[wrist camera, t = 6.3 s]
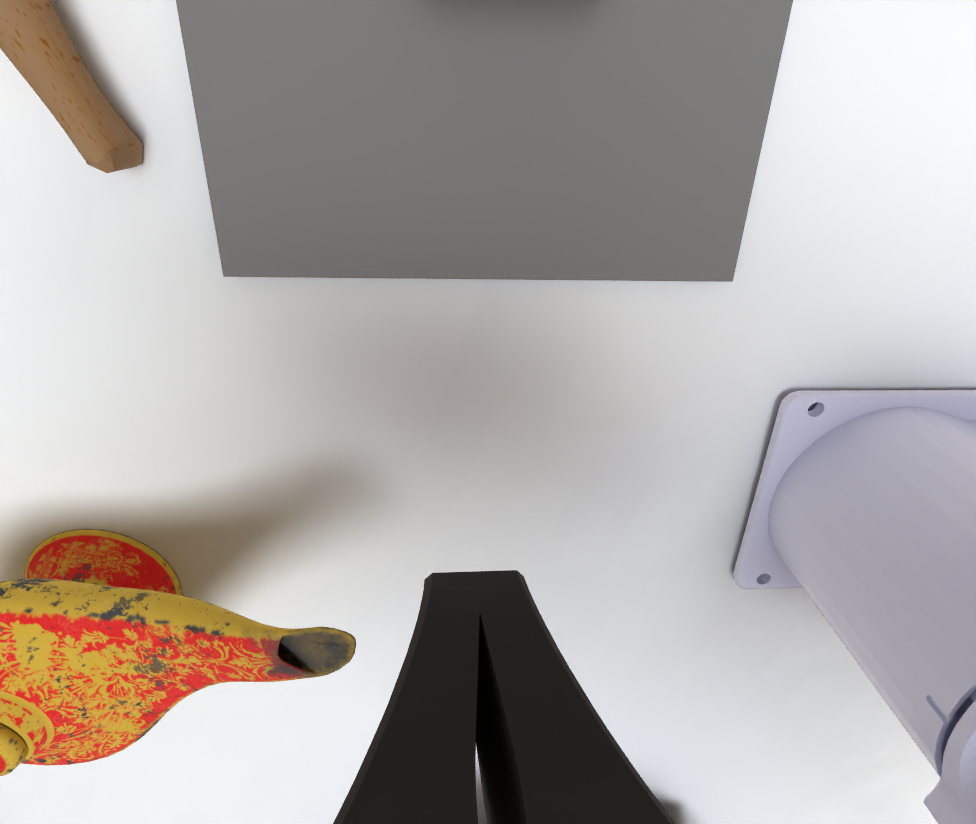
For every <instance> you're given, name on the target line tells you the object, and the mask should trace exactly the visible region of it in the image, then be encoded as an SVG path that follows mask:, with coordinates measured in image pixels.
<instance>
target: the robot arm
mask: <svg viewBox="0 0 976 824" xmlns="http://www.w3.org/2000/svg"><path fill="white" fill-rule="evenodd" d="M816 402H818V404H817V406H816V407H815V408H814V409H813V410H811V411H808V409H809V407H810V406H811V405H812V404H813V403H816ZM761 574H764V575H762V576H760V575H761ZM758 576H760V577H758ZM733 578H734V579H735V581H736V583H737V584H738V586H739V587H741V588H745V589H758V588H795V587H803V588H804V590H805V591H806V593H807V594H808V595H809V597H810V598H811V599H812V601H813V602H814V604H815V605H816V606H817V608H818V609H819V610H820V612H821V613H822V615H823V616H824V617H825V619H826V620H827V622H828V623H829V624H830V626H831V627H832V628H833V630H834V631H835V633H836V634H837V635H838V637H839V638H840V639H841V641H842V642H843V644H844V645H845V646H846V648H847V649H848V651H849V652H850V653H851V655H852V656H853V657H854V659H855V660H856V662H857V663H858V664H859V666H860V667H861V668H862V670H863V671H864V673H865V674H866V675H867V677H868V678H869V680H870V681H871V682H872V684H873V685H874V686H875V688H876V689H877V691H878V692H879V693H880V695H881V696H882V697H883V699H884V700H885V702H886V703H887V704H888V706H889V707H890V709H891V710H892V711H893V713H894V714H895V715H896V717H897V718H898V720H899V721H900V722H901V724H902V725H903V726H904V728H905V729H906V731H907V732H908V733H909V735H910V736H911V737H912V739H913V740H914V742H915V743H916V744H917V746H918V747H919V749H920V750H921V751H922V753H923V754H924V755H925V757H926V758H927V760H928V761H929V762H930V764H931V765H932V766H933V768H934V769H935V771H936V772H937V773H938V775H939V776H940V780H939V782H938V784H937V785H936V786H935V788H934V789H933V790H932V791H931V792H930V793H929V794H928V795H927V797H926V798H925V799H924V803H925V805H926V806H927V808H928V809H929V811H930V812H931V814H932V815H933V817H934V818H935V820H936V821H937V823H938V824H976V390H807V391H794V392H792V393H790V394H788V395H787V396H786V397H785V398H784V399H783V400H782V402H781V404H780V407H779V410H778V414H777V418H776V421H775V425H774V428H773V432H772V436H771V439H770V443H769V446H768V450H767V454H766V457H765V461H764V464H763V468H762V472H761V475H760V479H759V482H758V486H757V490H756V493H755V497H754V500H753V504H752V508H751V511H750V515H749V518H748V522H747V526H746V529H745V533H744V536H743V540H742V544H741V547H740V551H739V554H738V558H737V562H736V565H735V569H734V572H733ZM476 746H477V754H478V761H479V768H480V775H481V782H482V790H483V797H484V804H485V811H486V818H487V824H675V822H674V821H673V820H672V818H671V817H670V816H669V815H668V813H667V812H666V811H665V809H664V808H663V807H662V805H661V804H660V803H659V801H658V800H657V799H656V797H655V796H654V795H653V793H652V792H651V791H650V789H649V788H648V786H647V785H646V784H645V782H644V781H643V779H642V778H641V777H640V775H639V774H638V773H637V771H636V770H635V768H634V767H633V765H632V764H631V763H630V761H629V760H628V758H627V757H626V755H625V754H624V752H623V751H622V749H621V748H620V747H619V745H618V744H617V742H616V741H615V739H614V738H613V736H612V735H611V733H610V732H609V730H608V729H607V727H606V726H605V724H604V723H603V721H602V720H601V718H600V717H599V715H598V713H597V712H596V710H595V709H594V707H593V706H592V704H591V702H590V701H589V699H588V697H587V696H586V694H585V693H584V691H583V689H582V688H581V686H580V684H579V683H578V681H577V679H576V678H575V676H574V674H573V673H572V671H571V670H570V668H569V666H568V665H567V663H566V661H565V659H564V658H563V656H562V654H561V652H560V651H559V649H558V647H557V645H556V643H555V641H554V640H553V638H552V636H551V634H550V632H549V630H548V628H547V626H546V625H545V623H544V621H543V619H542V617H541V615H540V613H539V611H538V609H537V606H536V604H535V602H534V600H533V598H532V596H531V593H530V591H529V589H528V586H527V584H526V581H525V579H524V576H522V575H521V574H520V573H519V572H518V571H517V570H512V571H481V572H449V573H432V574H431V575H430V576H428V577H427V578H426V579H425V582H424V591H423V597H422V602H421V606H420V611H419V615H418V619H417V622H416V626H415V629H414V633H413V636H412V639H411V642H410V645H409V648H408V652H407V655H406V657H405V660H404V663H403V666H402V668H401V671H400V674H399V676H398V679H397V682H396V684H395V687H394V690H393V692H392V695H391V698H390V700H389V703H388V705H387V708H386V710H385V713H384V715H383V718H382V720H381V722H380V724H379V727H378V729H377V731H376V733H375V736H374V738H373V740H372V742H371V745H370V747H369V749H368V751H367V754H366V756H365V758H364V761H363V763H362V765H361V767H360V770H359V772H358V774H357V776H356V778H355V780H354V782H353V785H352V787H351V789H350V791H349V793H348V795H347V797H346V799H345V801H344V803H343V805H342V807H341V809H340V811H339V813H338V815H337V817H336V819H335V821H334V823H333V824H478V816H477V802H476V773H475V751H476Z"/></svg>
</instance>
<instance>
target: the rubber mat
mask: <svg viewBox="0 0 976 824" xmlns="http://www.w3.org/2000/svg"><path fill="white" fill-rule="evenodd" d="M176 3H177V9H178V15H179V20H180V26H181V32H182V38H183V44H184V49H185V55H186V61H187V67H188V73H189V78H190V84H191V90H192V96H193V102H194V107H195V113H196V119H197V125H198V131H199V136H200V142H201V148H202V154H203V160H204V165H205V171H206V177H207V183H208V189H209V194H210V200H211V206H212V212H213V217H214V223H215V229H216V235H217V241H218V246H219V252H220V258H221V264H222V270H223V275H224V277H325V278H427V279H528V280H630V281H733V277H734V272H735V267H736V263H737V258H738V253H739V249H740V244H741V240H742V235H743V230H744V226H745V221H746V216H747V212H748V207H749V202H750V198H751V193H752V188H753V184H754V179H755V174H756V170H757V165H758V161H759V156H760V151H761V147H762V142H763V137H764V133H765V128H766V123H767V119H768V114H769V109H770V105H771V100H772V95H773V91H774V86H775V82H776V77H777V72H778V68H779V63H780V58H781V54H782V49H783V44H784V40H785V35H786V30H787V26H788V21H789V16H790V12H791V7H792V3H793V0H176Z"/></svg>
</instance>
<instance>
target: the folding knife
mask: <svg viewBox="0 0 976 824" xmlns="http://www.w3.org/2000/svg"><path fill="white" fill-rule="evenodd" d="M0 48H1V50H2V51H3V52H4V53H5V55H6V56H7V57H8V58H9V60H10V61H11V62H12V63H13V65H14V66H15V67H16V68H17V70H18V71H19V72H20V73H21V75H22V76H23V77H24V78H25V80H26V81H27V82H28V83H29V85H30V86H31V87H32V88H33V90H34V91H35V92H36V94H37V95H38V96H39V97H40V99H41V100H42V101H43V102H44V104H45V105H46V106H47V108H48V109H49V110H50V111H51V113H52V114H53V116H54V117H55V118H56V120H57V121H58V122H59V124H60V125H61V126H62V128H63V129H64V131H65V132H66V134H67V135H68V136H69V138H70V139H71V141H72V142H73V144H74V145H75V147H76V148H77V149H78V151H79V152H80V153H81V155H82V156H83V158H84V159H85V160H86V162H87V164H88V165H91V166H93V167H95V168H97V169H99V170H102V171H104V172H106V173H110V172H114V171H118V170H123V169H127V168H131V167H135V166H138V165H140V164H142V158H143V145H142V143H141V141H140V140H139V139H138V138H137V137H136V135H135V134H134V133H133V132H132V131H131V130H130V128H129V127H128V126H127V125H126V124H125V123H124V121H123V120H122V119H121V118H120V117H119V115H118V114H117V113H116V112H115V110H114V109H113V108H112V106H111V105H110V104H109V103H108V101H107V100H106V98H105V97H104V95H103V94H102V92H101V91H100V90H99V88H98V87H97V85H96V83H95V82H94V80H93V78H92V77H91V75H90V73H89V72H88V70H87V68H86V66H85V65H84V63H83V61H82V60H81V58H80V56H79V54H78V52H77V51H76V49H75V47H74V45H73V43H72V41H71V39H70V38H69V36H68V34H67V32H66V30H65V28H64V27H63V25H62V23H61V21H60V19H59V17H58V16H57V14H56V12H55V10H54V8H53V6H52V5H51V3H50V1H49V0H0Z"/></svg>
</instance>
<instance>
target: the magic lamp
mask: <svg viewBox="0 0 976 824" xmlns="http://www.w3.org/2000/svg"><path fill="white" fill-rule="evenodd" d="M355 648H356V640H355V638H354V637H353V636H352V635H351V634H349V633H347V632H345V631H341V630H338V629H335V628H328V627H313V628H303V629H285V628H277V627H273V626H268V625H264V624H261V623H258V622H256V621H253V620H251V619H248V618H246V617H243V616H241V615H238V614H236V613H234V612H231V611H229V610H226V609H224V608H221V607H218V606H216V605H213V604H210V603H207V602H204V601H201V600H198V599H194V598H190V597H186V596H182V593H181V588H180V583H179V581H178V579H177V577H176V574H175V573H174V571H173V570H172V568H171V567H170V566H169V564H168V563H167V562H166V561H165V560H164V559H163V558H162V557H161V556H160V555H158V554H157V553H156V552H155V551H153V550H152V549H150V548H149V547H147V546H146V545H144V544H142V543H140V542H138V541H136V540H134V539H132V538H129V537H126V536H123V535H120V534H117V533H112V532H107V531H101V530H75V531H68V532H64V533H61V534H58V535H54V536H52V537H51V538H49V539H47V540H45V541H43V542H42V543H41V544H40V545H39V546H37V547H36V548H35V549H34V550H33V552H32V553H31V555H30V557H29V558H28V560H27V563H26V567H25V579H21V580H12V581H2V582H0V776H3V775H6V774H9V773H10V772H12V771H13V770H14V769H15V768H16V767H17V766H18V765H19V764H20V763H23V764H36V765H69V764H76V763H83V762H90V761H93V760H97V759H101V758H104V757H108V756H110V755H113V754H115V753H117V752H119V751H122V750H124V749H125V748H127V747H128V746H130V745H131V744H133V743H134V742H136V741H137V740H139V739H140V738H141V737H143V736H144V735H145V734H146V733H147V732H148V731H149V730H150V729H151V728H152V727H153V726H154V725H155V724H156V723H157V722H158V721H159V720H160V719H161V718H162V717H163V716H164V715H165V714H166V713H167V712H168V711H169V710H170V709H171V708H172V707H174V706H175V705H176V704H177V703H178V702H179V701H181V700H182V699H184V698H185V697H187V696H188V695H190V694H192V693H194V692H196V691H198V690H200V689H203V688H205V687H207V686H210V685H214V684H218V683H224V682H274V681H287V680H295V679H302V678H311V677H319V676H324V675H328V674H330V673H332V672H334V671H337V670H339V669H340V668H342V667H343V666H344V665H346V664H347V663H348V662H350V660H351V659H352V657H353V655H354V653H355Z"/></svg>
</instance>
